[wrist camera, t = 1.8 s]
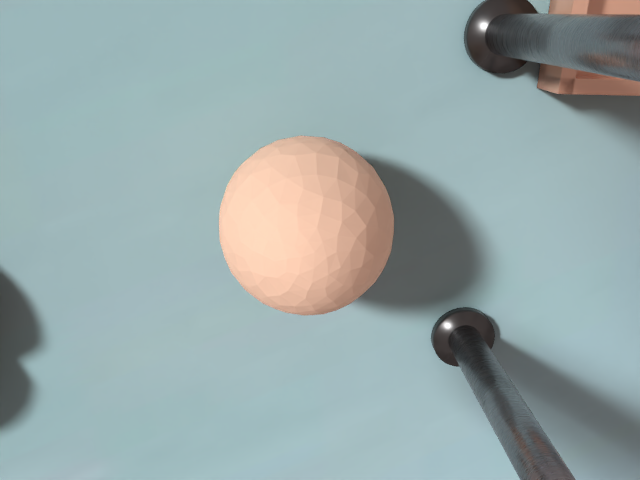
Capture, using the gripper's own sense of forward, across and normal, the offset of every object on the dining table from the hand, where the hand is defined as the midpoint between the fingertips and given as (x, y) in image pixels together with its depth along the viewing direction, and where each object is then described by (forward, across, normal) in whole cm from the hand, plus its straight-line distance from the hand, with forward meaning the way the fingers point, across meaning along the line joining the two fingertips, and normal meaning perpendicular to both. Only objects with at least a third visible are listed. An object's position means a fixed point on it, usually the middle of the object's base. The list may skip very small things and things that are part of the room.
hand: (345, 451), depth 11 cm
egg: (+16, 0, 0) cm, 17 cm away
